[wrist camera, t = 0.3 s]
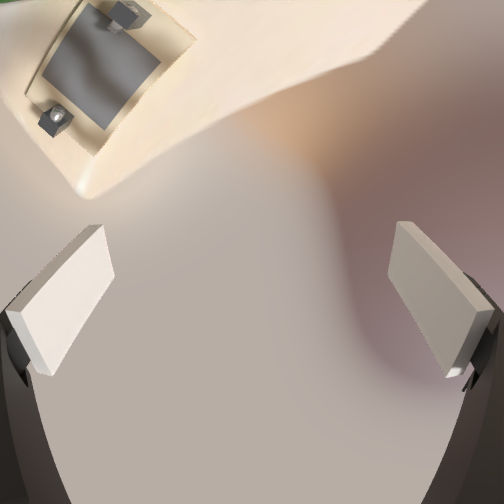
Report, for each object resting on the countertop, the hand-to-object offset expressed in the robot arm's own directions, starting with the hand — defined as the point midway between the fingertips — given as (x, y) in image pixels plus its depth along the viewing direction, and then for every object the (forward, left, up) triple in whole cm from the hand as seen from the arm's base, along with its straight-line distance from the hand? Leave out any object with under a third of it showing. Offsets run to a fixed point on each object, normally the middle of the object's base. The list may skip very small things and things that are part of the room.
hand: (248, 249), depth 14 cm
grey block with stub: (+4, -18, -26) cm, 32 cm away
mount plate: (+12, -18, -27) cm, 34 cm away
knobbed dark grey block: (+20, -18, -26) cm, 37 cm away
